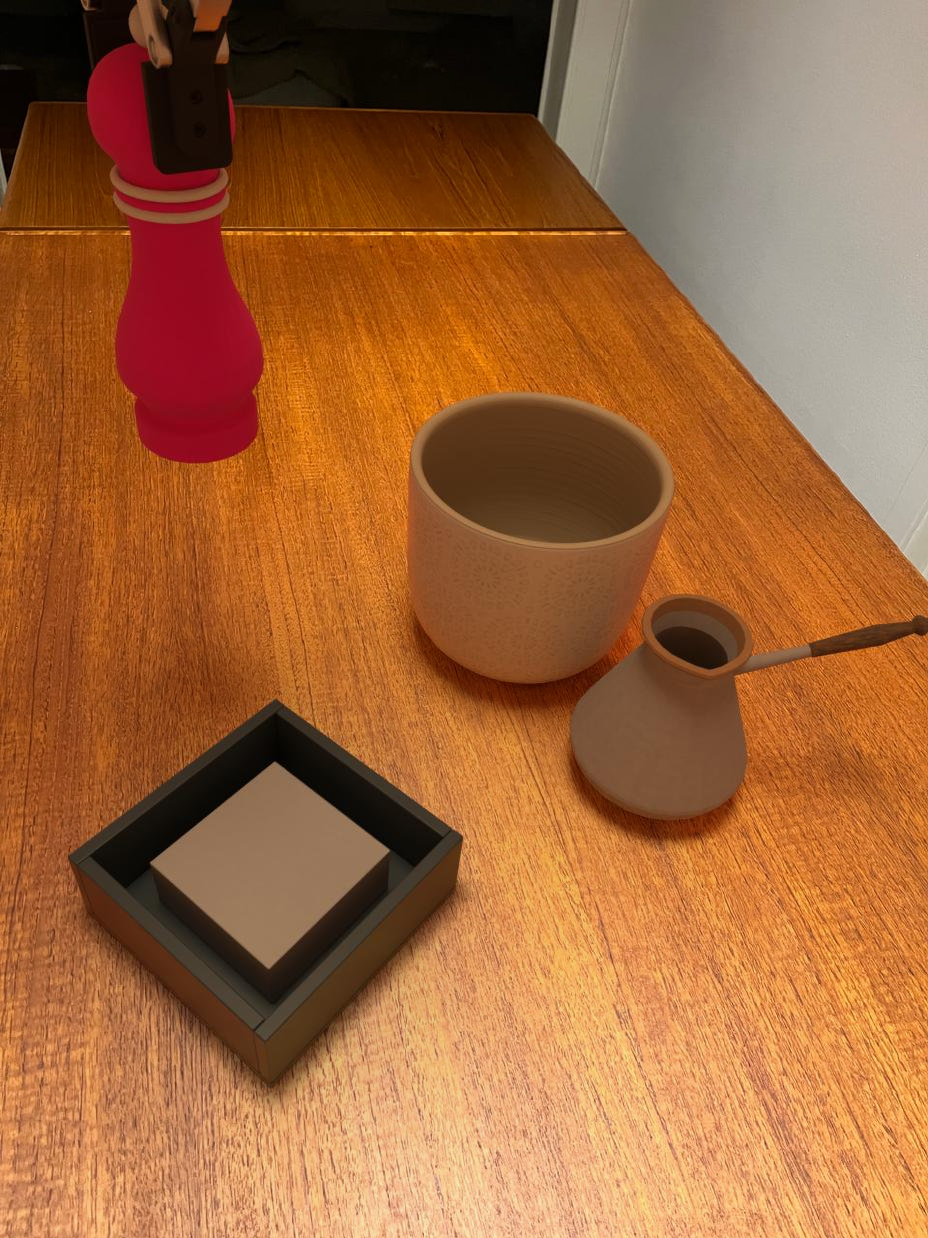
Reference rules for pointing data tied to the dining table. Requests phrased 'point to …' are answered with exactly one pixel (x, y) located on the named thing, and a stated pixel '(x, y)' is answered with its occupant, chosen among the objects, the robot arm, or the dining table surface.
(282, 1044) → the dark square tray
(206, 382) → the pepper mill
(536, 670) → the planter
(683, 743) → the coffee pot
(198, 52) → the robot arm
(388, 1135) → the dining table surface
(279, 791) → the brown square block
